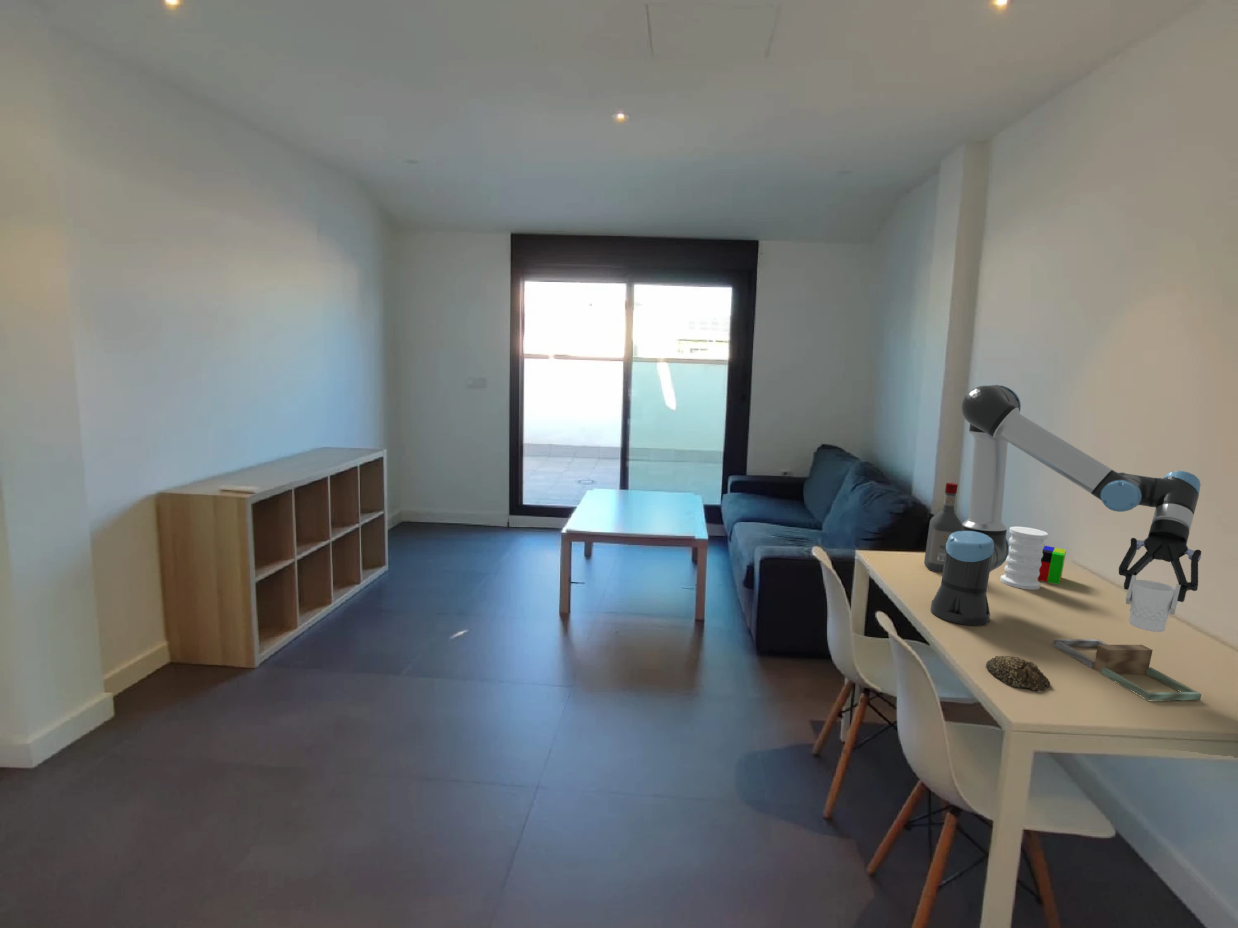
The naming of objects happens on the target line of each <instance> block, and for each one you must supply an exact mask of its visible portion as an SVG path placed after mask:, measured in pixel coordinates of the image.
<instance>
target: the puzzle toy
mask: <svg viewBox="0 0 1238 928" xmlns="http://www.w3.org/2000/svg"><path fill="white" fill-rule="evenodd" d="M1066 552H1067V549H1064V548H1059V547H1054V546H1049V545H1045V547H1044V549H1043V551H1042V553H1043V557H1042V558H1041V567H1040V569H1039V572H1040V575H1039V577H1038V581H1039V582H1040V581H1041V582H1046V583H1050V584H1056V585H1060V581H1061V580H1062V577H1063V576H1062V575H1063V569H1064V565H1065V560H1066V554H1067V553H1066Z"/></svg>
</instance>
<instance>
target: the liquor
mask: <svg viewBox="0 0 1238 928" xmlns="http://www.w3.org/2000/svg"><path fill="white" fill-rule="evenodd" d="M958 486H959V485H958V483H955V482H946V484H945V488H944V497H943V498H944V499H943V505H942V507H941V510H940V511H939V512H938V513H936V514H935V515H933V516H932V517H931V518H930V520H929V525H928V534H927V540H926V546H925V547H926V548H925V554H924V560H923V561H924V562H923V563H924V565H925V566H924V567H926V569H927V570H928V571H931V572H935V573H942V574H943V567H944V560H945V553H946V543H947V541H948V537H949V536H950V535H951V534H952V533H954V532H957V531H962V524H963V523H962V522H961V521H960V519H959V518H958V516H957V514H956V513H955V503H956V495H957V493H958Z"/></svg>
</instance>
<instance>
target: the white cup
mask: <svg viewBox="0 0 1238 928" xmlns="http://www.w3.org/2000/svg"><path fill="white" fill-rule="evenodd" d="M1175 589H1176V588H1175V587H1173V586H1171V585H1169V584H1165V583H1161V582H1160V581H1159V582H1158V581H1154V580H1153V581H1152V580H1146V579H1136V580H1135V581H1133V586H1132V595H1131V602H1130V604H1129V605H1130V607H1129V609H1130V610H1129V624H1130V625H1131V626H1133V627H1135V628H1138V629H1140V630H1144V631H1150V632H1156V633H1157V632H1158V633H1161V632H1164V631H1165V630H1166V625H1167V620H1168V619H1169V616H1170V610H1171V605H1172V601H1173V597H1174V593H1175Z"/></svg>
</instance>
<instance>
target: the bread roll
mask: <svg viewBox="0 0 1238 928" xmlns="http://www.w3.org/2000/svg"><path fill="white" fill-rule="evenodd" d="M985 668H986V669H987V671H988V673H990V674H991V675H992V676H993V677H994V678H995V679H997V680H999V681H1001V682H1002V683H1003V684H1005V685H1006V686H1010V687H1011V688H1021V689H1022V688H1026V689H1029V690H1032V691H1033V690H1034V691H1033V692H1037V691H1042V692H1044V691H1045V690H1046V688H1045V687H1047V688H1049V687H1050V686H1051V682H1050V680H1049V679H1048V678H1047V676H1046V675H1044V672H1041V669H1039V667H1038V665H1037V664H1035V663H1034V662H1033V661H1029V660H1026V659H1023V658H1019V657H1018V656H1017V657H1016V656H1014V655H1013V656H1012V655H1002V656H1001V655H995V657H992V658H990V659H989V660H987V662H986V663H985Z"/></svg>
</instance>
